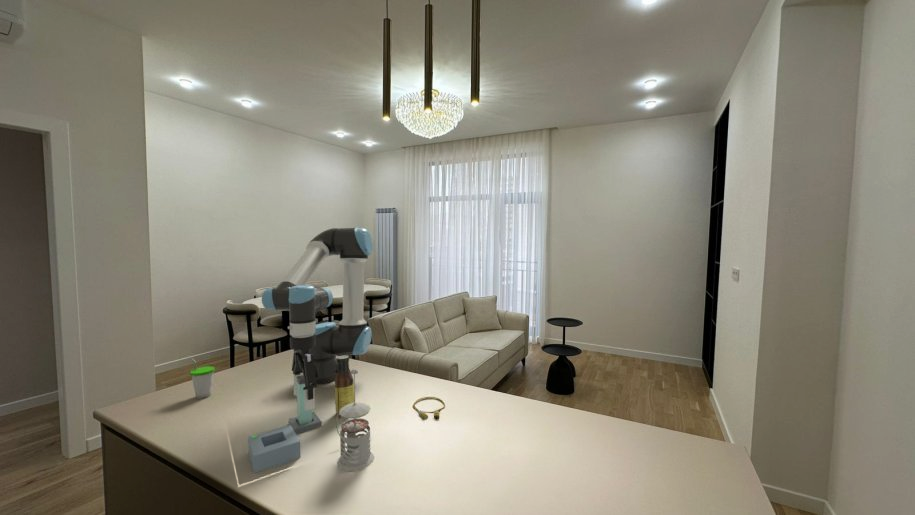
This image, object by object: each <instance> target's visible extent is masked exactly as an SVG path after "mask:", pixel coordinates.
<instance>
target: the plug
mask: <svg viewBox="0 0 915 515" xmlns="http://www.w3.org/2000/svg"><path fill="white" fill-rule="evenodd" d="M304 387H305V382H304V377H303V375H302V376H297V395H296V404H297V405H296V408H297V410H296V411H297V415H296V416H297V417H298V425H302V424H306V423H309V422H312V412H313V411H312V410H313V409H310V410H306V411H305V396H304V390H303V388H304Z"/></svg>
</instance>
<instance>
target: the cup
mask: <svg viewBox="0 0 915 515" xmlns="http://www.w3.org/2000/svg"><path fill="white" fill-rule="evenodd" d="M190 359H191V361H193V364H194V369H191V370H190V371H189V375H190V376H191V379H192V384H193V389H194V394H195V398H196V399H198V400H202V399H206V398H210V397H211V395H212V386H213V380H214V372H215V371H216V368H215V366H211V365H209V366H200V367H197V361H196V360H195V359H194V358H193V357H190Z"/></svg>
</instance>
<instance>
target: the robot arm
mask: <svg viewBox="0 0 915 515" xmlns="http://www.w3.org/2000/svg"><path fill="white" fill-rule="evenodd" d="M373 246H374V245H373V239H372V236H371V233H370V232H369V231H368V229H366V228H364V227H363V228H360V227H342V228H341V227H340V228H335V227H332V228H328V229H326V230H323V231H322V232H320V233H318V234H317V235H315V236H314V237H313V238H312V239H311V240H310V241H309V242H308V243H307V245H306V248H305V249H306V250H304V253H302V255H301V256H300V257H299V259H298V260H297V261H296V263H295V264H294V265H293V266H292V268H291V269H290V270H289V271H288V273H287V274H286V275H285V276H284V278H283V279H282V280H281V281H280V283H279V284H278V285H277V287H276V288H275V287H270V288H267V289H264V291H263V293H262V295H261V304H262V306H263V308H265V309H266V310H269V311H288V312H289V313H288V314H289V325H288V326H287V329H288V330H289V336H290V337H289V348H290V349H291V350H293V356H292V363H291V364H292V365H291V371H292V374H293V396H297V376H302V375H303V377H304V382H305V387H304V388H303V390H304V396H305V411H306V410H310V409H312V410H313V409H315V408H316V405H315V404H316V401H315V392H316V391H315V389H316V388H317V387H318V385H319V384H326V383H330V382H331V383H332V382H333V381H334V382H335V376H336V374H337V371H338V370H337V369H338V366H337V355H347V356H349V355H350V356H351V355H352V356H357V355H358V356H359V355H364V354H365V353H367V352H368V349H369V347H370V346H371V345H370V344H371V342H372V335H373V334H372V328H371V327H369V326H368V321H366V320H365V317H364V306H365V305H364V304H365V303H364V301H365V300H364V298H365V297H364V296H365V290H364V288H365V263H366V262H367V261H368V260H369V256H371V255H372V254H373V248H374V247H373ZM330 256H339V260H340V261H341V262H342V263H343V271H342V272H343V273H342V274H343V276H342V277H343V278H342V280H343V281H342V282H343V283H342V284H343V285H342V291H343V292H342V319H341V320H340V322H338V326H337V324H336V322H334V321H333V322H332V321H331V322H330V321H329V322H321V323H318V324H317V321H316V313H317V312H319V311H323V310H325V309H327V308H328V307H330V306H331V305H332V303H333V299H334V295H333V292H332V290H330V289H329V288H327V287H325V286H324V287H323V286H322V287H316V288H315V287H314V286H313V285H310V284H308V282H309V281H310V279H311V278H312V277H313V275H314V274H315V272H316V271H317V270H318V268H319V267H320V265H321V264H322V262H323V261H326V260H328V258H329V257H330Z"/></svg>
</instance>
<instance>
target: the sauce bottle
mask: <svg viewBox="0 0 915 515" xmlns="http://www.w3.org/2000/svg"><path fill="white" fill-rule="evenodd" d="M336 359H337V366H338V369H337V370H338V371H337V374H336V376H335V380H334V400H335V413H336V414H335V415H336V416H337V415H338V414H339V411H340V409H341V408H343V407H344V406H345V405H348V404H350V403H354V376H353V374H351V369H350V364H349V362H350V356H349V355H348V354H342V355H339V356H336ZM338 418H341V415H340V414H339V416H338Z"/></svg>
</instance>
